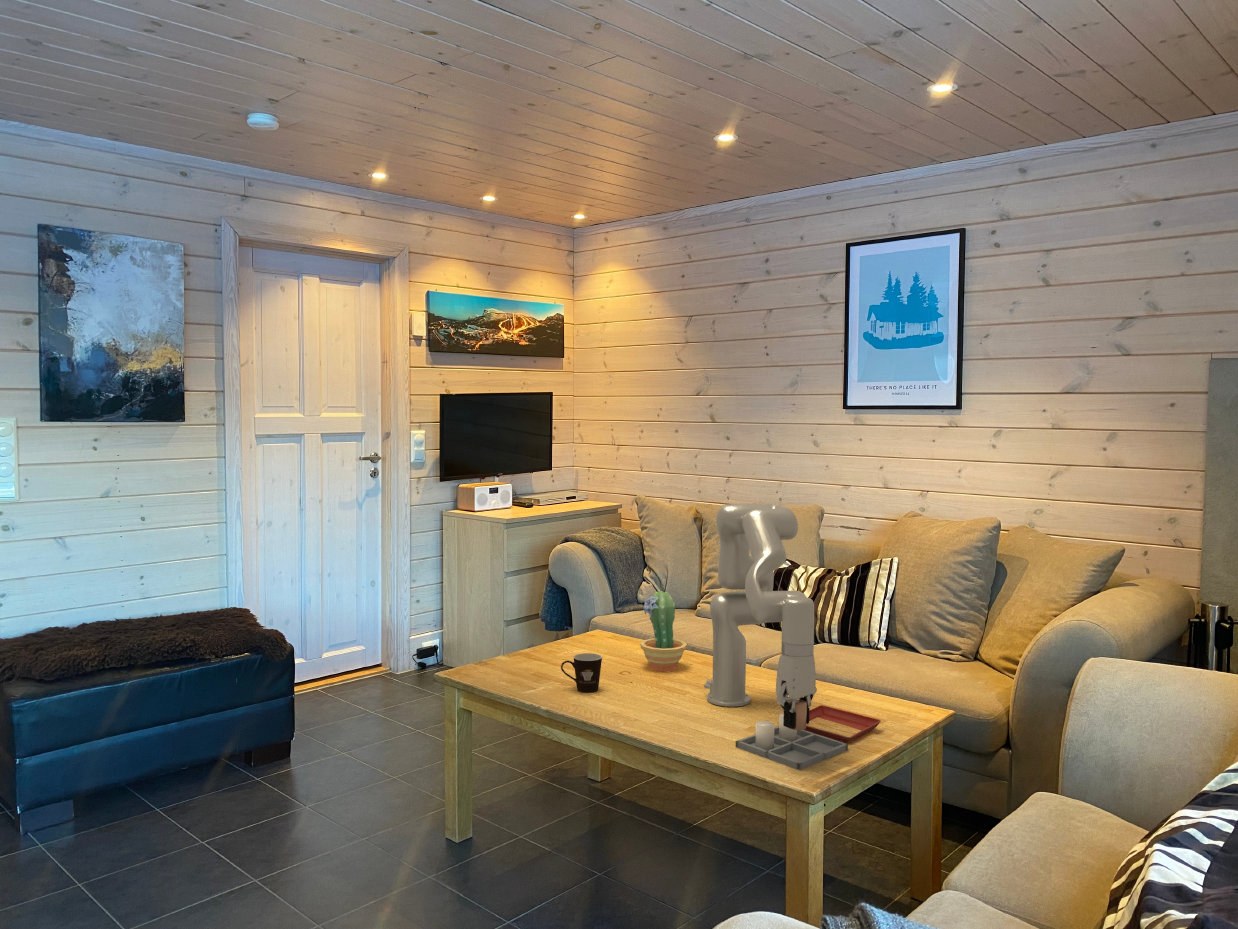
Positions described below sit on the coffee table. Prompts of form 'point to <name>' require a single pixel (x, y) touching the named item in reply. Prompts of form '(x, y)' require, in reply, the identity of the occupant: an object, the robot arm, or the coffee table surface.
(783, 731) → the cream rounded cylinder
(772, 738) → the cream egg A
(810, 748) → the gray divided tray
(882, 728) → the coffee table surface
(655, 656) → the potted cactus
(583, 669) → the coffee mug
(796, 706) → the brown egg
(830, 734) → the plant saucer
